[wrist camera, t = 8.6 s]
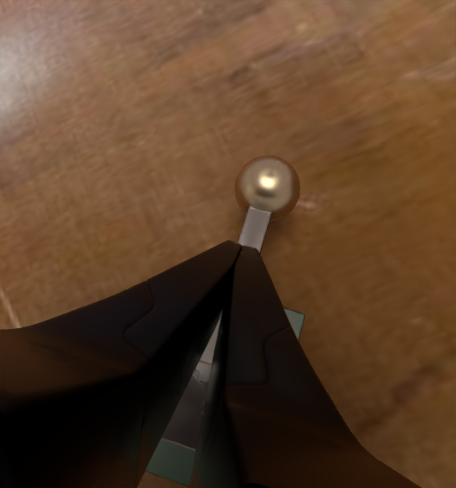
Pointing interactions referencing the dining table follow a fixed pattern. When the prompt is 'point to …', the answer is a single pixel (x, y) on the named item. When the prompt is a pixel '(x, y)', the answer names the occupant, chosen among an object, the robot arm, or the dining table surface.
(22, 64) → the dining table surface
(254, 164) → the lever
